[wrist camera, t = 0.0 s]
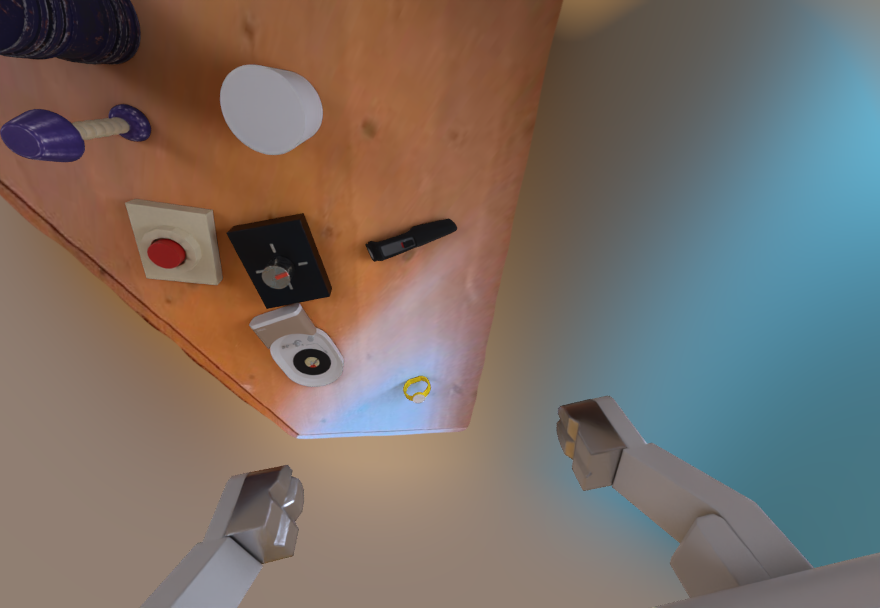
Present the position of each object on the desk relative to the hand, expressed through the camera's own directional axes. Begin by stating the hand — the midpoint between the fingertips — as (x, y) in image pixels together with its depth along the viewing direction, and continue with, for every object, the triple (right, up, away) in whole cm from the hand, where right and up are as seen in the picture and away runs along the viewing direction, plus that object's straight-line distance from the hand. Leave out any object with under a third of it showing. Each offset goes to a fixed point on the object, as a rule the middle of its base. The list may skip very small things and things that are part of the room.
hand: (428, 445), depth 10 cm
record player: (-27, -4, +56) cm, 63 cm away
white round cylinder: (-20, +31, +35) cm, 50 cm away
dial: (-25, +10, +43) cm, 51 cm away
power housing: (-40, +14, +42) cm, 60 cm away
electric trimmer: (-5, +16, +47) cm, 50 cm away
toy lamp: (-39, +28, +33) cm, 59 cm away
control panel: (-26, +12, +46) cm, 54 cm away
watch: (-5, -13, +66) cm, 67 cm away
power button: (-40, +12, +39) cm, 57 cm away
